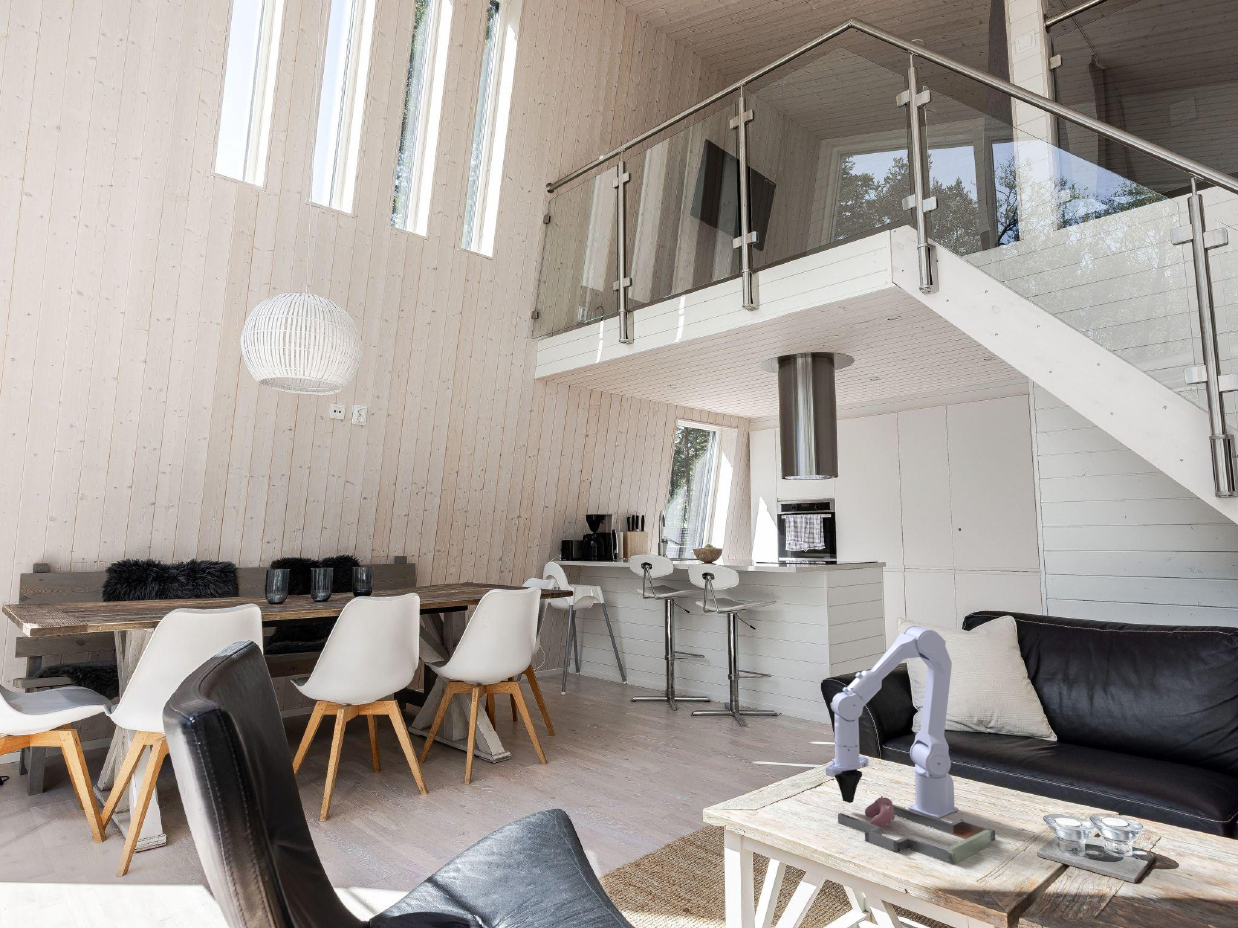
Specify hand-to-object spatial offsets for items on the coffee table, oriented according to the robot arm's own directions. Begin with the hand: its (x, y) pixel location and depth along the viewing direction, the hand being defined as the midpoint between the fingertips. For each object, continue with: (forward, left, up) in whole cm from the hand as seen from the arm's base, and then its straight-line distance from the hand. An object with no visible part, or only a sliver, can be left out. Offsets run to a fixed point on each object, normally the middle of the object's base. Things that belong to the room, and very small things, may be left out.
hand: (848, 801), depth 185 cm
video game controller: (+1, +9, -3) cm, 10 cm away
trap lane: (0, +17, -2) cm, 17 cm away
